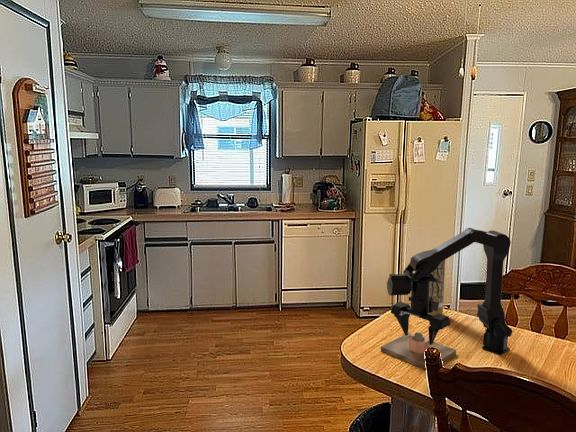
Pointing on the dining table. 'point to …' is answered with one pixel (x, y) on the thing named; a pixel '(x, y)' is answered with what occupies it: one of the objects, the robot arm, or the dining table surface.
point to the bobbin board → (402, 352)
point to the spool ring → (418, 344)
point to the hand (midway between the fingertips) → (418, 339)
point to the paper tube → (438, 287)
